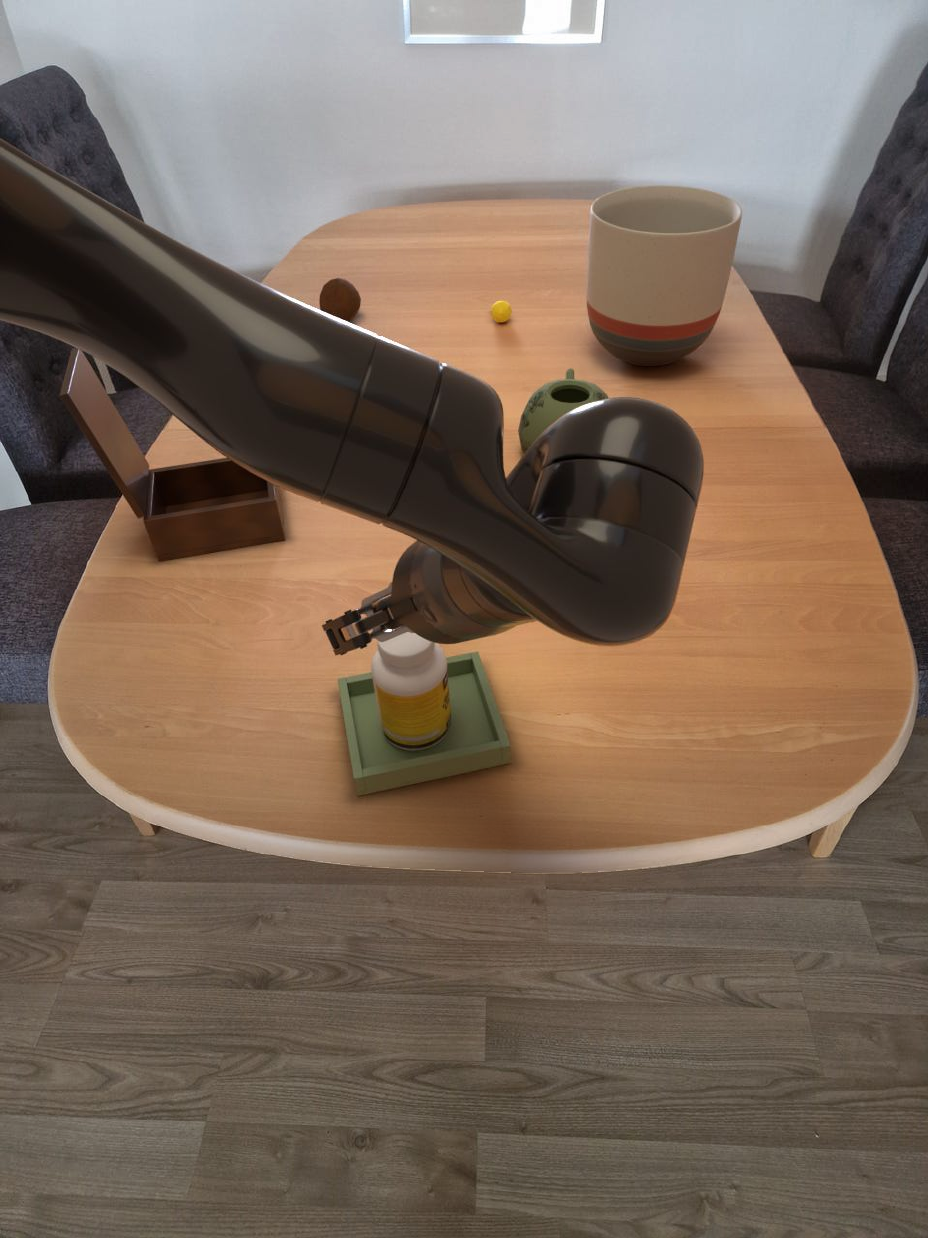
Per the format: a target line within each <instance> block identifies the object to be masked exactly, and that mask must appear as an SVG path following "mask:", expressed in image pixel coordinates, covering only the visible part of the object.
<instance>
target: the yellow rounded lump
mask: <svg viewBox="0 0 928 1238" xmlns="http://www.w3.org/2000/svg"><path fill="white" fill-rule="evenodd" d="M512 312H513V310H512V307H511V304H510V303H509V302H507V301H506V300H497V301H495V302H494V303H493V304H492V305H491V308H490V314H491V317H492V319H493V320H494V321H495V322H497V323H505V322H507V321H509V319H511V315H512Z"/></svg>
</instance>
